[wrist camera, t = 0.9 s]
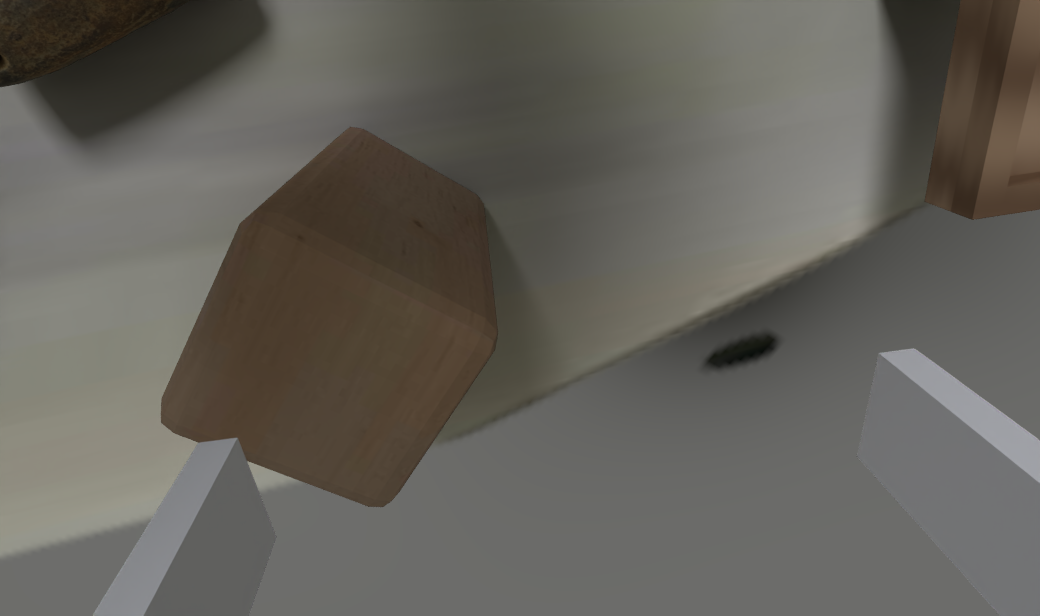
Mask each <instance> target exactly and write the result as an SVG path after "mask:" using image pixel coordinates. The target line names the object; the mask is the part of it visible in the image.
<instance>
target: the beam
mask: <svg viewBox="0 0 1040 616" xmlns="http://www.w3.org/2000/svg"><path fill="white" fill-rule="evenodd" d="M925 202H927V203H930V204H932V205H935V206H938V207H940V208H943V209H945V210H948V211H951V212H953V213H956V214H959V215H961V216H964V217H967V218H969V219H972V220H974V219H980V218H986V217H993V216H1000V215H1006V214H1013V213H1020V212H1026V211H1032V210H1039V209H1040V0H961V1H960V7H959V13H958V18H957V24H956V29H955V35H954V40H953V46H952V51H951V57H950V63H949V68H948V74H947V79H946V85H945V90H944V96H943V102H942V107H941V113H940V118H939V124H938V129H937V135H936V141H935V146H934V152H933V157H932V163H931V168H930V174H929V180H928V185H927V191H926V196H925Z"/></svg>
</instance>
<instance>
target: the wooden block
mask: <svg viewBox="0 0 1040 616" xmlns="http://www.w3.org/2000/svg"><path fill="white" fill-rule="evenodd" d="M497 335H498V328H497V319H496V310H495V301H494V292H493V283H492V274H491V264H490V255H489V246H488V237H487V228H486V219H485V210H484V203H483V202H482V201H481V200H480V198H479V197H478V196H477V195H476V194H475V193H473V192H471V191H469V190H468V189H466V188H464V187H463V186H461V185H459V184H457V183H456V182H454V181H452V180H450V179H449V178H447V177H445V176H444V175H442V174H440V173H438V172H437V171H435V170H433V169H431V168H430V167H428V166H426V165H425V164H423V163H421V162H419V161H418V160H416V159H414V158H412V157H411V156H409V155H407V154H406V153H404V152H402V151H400V150H399V149H397V148H395V147H394V146H392V145H390V144H388V143H387V142H385V141H383V140H381V139H380V138H378V137H376V136H375V135H373V134H371V133H369V132H368V131H366V130H364V129H361V128H354V127H350V128H348V129H347V130H346V131H345V132H343V133H342V134H341V135H340V136H339V137H338V138H336V139H335V140H334V141H333V142H332V143H331V144H330V145H328V146H327V147H326V148H325V149H324V150H323V151H322V152H320V153H319V154H318V155H317V156H316V157H315V158H314V159H313V160H311V161H310V162H309V163H308V164H307V165H306V166H305V167H303V168H302V169H301V170H300V171H299V172H298V173H297V174H296V175H294V176H293V177H292V178H291V179H290V180H289V181H288V182H286V183H285V184H284V185H283V186H282V187H281V188H280V189H279V190H277V191H276V192H275V193H274V194H273V195H272V196H271V197H269V198H268V199H267V200H266V201H265V202H264V203H263V204H262V205H260V206H259V207H258V208H257V209H256V210H255V211H254V212H252V213H251V214H250V215H249V216H248V217H247V218H246V219H245V220H243V221H242V222H241V223H240V225H239V227H238V229H237V231H236V233H235V236H234V238H233V240H232V242H231V245H230V247H229V249H228V251H227V254H226V256H225V258H224V260H223V263H222V265H221V267H220V269H219V271H218V274H217V276H216V278H215V280H214V283H213V285H212V287H211V289H210V292H209V294H208V296H207V298H206V300H205V303H204V305H203V307H202V309H201V312H200V314H199V316H198V318H197V321H196V323H195V325H194V327H193V329H192V332H191V334H190V336H189V338H188V341H187V343H186V345H185V347H184V350H183V352H182V354H181V356H180V359H179V361H178V363H177V365H176V367H175V370H174V372H173V374H172V376H171V379H170V381H169V383H168V385H167V388H166V390H165V392H164V394H163V396H162V402H161V423H162V424H163V425H165V426H166V427H167V428H168V429H170V430H171V431H172V432H173V433H175V434H178V435H180V436H183V437H186V438H188V439H191V440H193V441H196V442H199V443H200V442H208V441H215V440H223V439H230V438H238V440H239V442H240V445H241V448H242V450H243V453H244V455H245V458H246V460H247V461H249V462H252V463H254V464H257V465H260V466H262V467H265V468H268V469H270V470H273V471H276V472H278V473H281V474H284V475H286V476H289V477H292V478H294V479H297V480H300V481H302V482H305V483H308V484H310V485H313V486H316V487H318V488H321V489H323V490H326V491H329V492H331V493H334V494H337V495H339V496H342V497H345V498H348V499H350V500H353V501H355V502H358V503H361V504H363V505H366V506H368V507H384V506H385V505H386V504H388V503H389V502H390V501H392V500H393V499H394V497H395V496H396V495H397V494H398V493H399V492H400V490H401V488H402V487H403V486H404V484H405V483H406V481H407V480H408V478H409V477H410V475H411V474H412V472H413V470H414V469H415V468H416V466H417V465H418V463H419V462H420V460H421V459H422V457H423V456H424V454H425V453H426V452H427V450H428V449H429V447H430V446H431V444H432V443H433V441H434V440H435V438H436V437H437V435H438V434H439V432H440V431H441V429H442V428H443V426H444V425H445V423H446V422H447V420H448V419H449V417H450V416H451V414H452V413H453V412H454V410H455V409H456V407H457V406H458V404H459V403H460V401H461V400H462V398H463V397H464V395H465V394H466V392H467V391H468V389H469V388H470V386H471V385H472V383H473V382H474V380H475V379H476V377H477V376H478V374H479V373H480V371H481V370H482V368H483V367H484V366H485V364H486V363H487V361H488V360H489V358H490V357H491V355H492V354H493V352H494V351H495V347H496V341H497Z"/></svg>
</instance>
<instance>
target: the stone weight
mask: <svg viewBox="0 0 1040 616" xmlns="http://www.w3.org/2000/svg"><path fill="white" fill-rule="evenodd" d="M188 1H190V0H0V87H5V86H10V85H15V84H20V83H23V82H26V81H29V80H32V79H35V78H38V77H41V76H43V75H46V74H49V73H52V72H54V71H57V70H59V69H61V68H64V67H66V66H68V65H70V64H72V63H74V62H76V61H77V60H79V59H81V58H84V57H86V56H88V55H90V54H92V53H94V52H96V51H98V50H99V49H101V48H103V47H105V46H107V45H109V44H111V43H113V42H115V41H117V40H119V39H121V38H123V37H125V36H126V35H128V34H129V33H131V32H133V31H135V30H137V29H139V28H141V27H143V26H145V25H147V24H149V23H151V22H152V21H154V20H156V19H158V18H160V17H162V16H164V15H166V14H168V13H170V12H172V11H174V10H175V9H177V8H178V7H180V6H181V5H183V4H185V3H187V2H188Z"/></svg>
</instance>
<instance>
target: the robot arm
mask: <svg viewBox="0 0 1040 616" xmlns="http://www.w3.org/2000/svg"><path fill="white" fill-rule="evenodd" d="M857 457H858V458H859V459H860V460H861V461H862V463H863V464H864V465H865V466H866V467H867V468H868V469H869V470H870V471H871V473H872V474H873V475H874V476H875V477H876V478H877V479H878V480H879V481H880V483H881V484H882V485H883V486H884V487H885V488H886V489H887V490H888V491H889V492H890V494H891V495H892V496H893V497H894V498H895V499H896V500H897V501H898V503H899V504H900V505H901V506H902V507H903V508H904V509H905V510H906V511H907V513H908V514H909V515H910V516H911V517H912V518H913V519H914V520H915V521H916V523H917V524H918V525H919V526H920V527H921V528H922V529H923V530H924V532H925V533H926V534H927V535H928V536H929V537H930V538H931V539H932V540H933V542H934V543H935V544H936V545H937V546H938V547H939V548H940V549H941V550H942V552H943V553H944V554H945V555H946V556H947V557H948V558H949V559H950V561H951V562H953V564H954V565H955V566H956V567H957V568H958V569H959V571H960V572H961V573H962V574H963V575H964V576H965V577H966V578H967V579H968V581H969V582H970V583H971V584H972V585H973V586H974V587H975V588H976V589H977V591H978V592H979V593H980V594H981V595H982V596H983V597H984V598H985V599H986V600H987V602H988V603H989V604H990V605H991V606H992V607H993V608H994V609H995V610H996V612H997V613H998V614H999V615H1000V616H1040V440H1038V439H1037V438H1036V437H1034V436H1033V435H1032V434H1030V433H1029V432H1028V431H1026V430H1025V429H1024V428H1022V427H1021V426H1020V425H1018V424H1017V423H1016V422H1014V421H1013V420H1011V419H1010V418H1009V417H1007V416H1006V415H1005V414H1003V413H1002V412H1000V411H999V410H998V409H996V408H995V407H994V406H992V405H991V404H990V403H988V402H987V401H986V400H984V399H983V398H981V397H980V396H978V395H977V394H976V393H975V392H973V391H972V390H971V389H969V388H968V387H966V386H965V385H963V384H962V383H961V382H960V381H958V380H957V379H956V378H954V377H953V376H951V375H950V374H949V373H947V372H946V371H944V370H943V369H942V368H941V367H939V366H938V365H936V364H935V363H934V362H932V361H931V360H930V359H928V358H927V357H926V356H924V355H923V354H922V353H920V352H919V351H917V350H916V349H915V348H914V349H907V350H900V351H891V352H884V353H879V355H878V359H877V364H876V369H875V374H874V379H873V384H872V388H871V393H870V397H869V402H868V407H867V412H866V416H865V421H864V426H863V431H862V435H861V440H860V445H859V450H858V455H857ZM275 540H276V534H275V531H274V529H273V527H272V524H271V521H270V519H269V516H268V514H267V511H266V509H265V506H264V504H263V501H262V499H261V496H260V493H259V491H258V488H257V486H256V483H255V481H254V478H253V475H252V473H251V470H250V468H249V465H248V463H247V460H246V458H245V455H244V453H243V450H242V448H241V445H240V442H239V440H238V438H230V439H223V440H215V441H208V442H200V443H198V444H197V446H196V448H195V449H194V451H193V452H192V454H191V456H190V457H189V459H188V461H187V462H186V464H185V466H184V467H183V469H182V470H181V472H180V474H179V475H178V477H177V479H176V480H175V482H174V483H173V485H172V487H171V488H170V490H169V492H168V493H167V495H166V496H165V498H164V500H163V501H162V503H161V505H160V506H159V508H158V510H157V511H156V513H155V514H154V516H153V518H152V519H151V521H150V523H149V524H148V526H147V528H146V529H145V531H144V533H143V534H142V536H141V537H140V539H139V541H138V542H137V544H136V546H135V547H134V549H133V550H132V552H131V554H130V555H129V557H128V558H127V560H126V562H125V563H124V565H123V567H122V568H121V570H120V572H119V573H118V575H117V576H116V578H115V580H114V581H113V583H112V585H111V586H110V588H109V589H108V591H107V593H106V594H105V596H104V598H103V599H102V601H101V602H100V604H99V606H98V608H97V609H96V611H95V612H94V614H93V615H92V616H249V613H250V610H251V608H252V605H253V602H254V599H255V596H256V594H257V591H258V588H259V585H260V582H261V579H262V576H263V574H264V571H265V568H266V565H267V562H268V560H269V556H270V554H271V551H272V548H273V545H274V543H275Z"/></svg>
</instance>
